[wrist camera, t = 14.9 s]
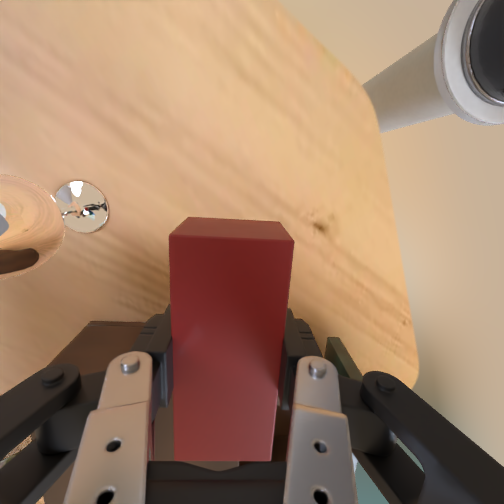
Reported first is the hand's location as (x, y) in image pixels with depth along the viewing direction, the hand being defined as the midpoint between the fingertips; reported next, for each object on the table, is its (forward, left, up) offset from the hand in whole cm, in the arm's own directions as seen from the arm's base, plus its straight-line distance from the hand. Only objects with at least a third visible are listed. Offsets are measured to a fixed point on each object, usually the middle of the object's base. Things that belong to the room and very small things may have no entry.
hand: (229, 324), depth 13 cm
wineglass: (-3, -13, -14) cm, 19 cm away
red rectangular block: (0, 0, -1) cm, 1 cm away
